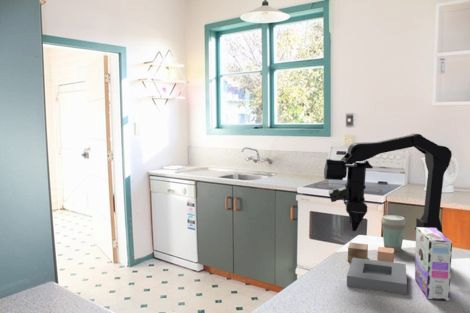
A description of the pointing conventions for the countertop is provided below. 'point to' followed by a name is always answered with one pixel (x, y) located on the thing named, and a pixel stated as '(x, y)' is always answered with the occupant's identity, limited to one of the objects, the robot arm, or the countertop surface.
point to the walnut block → (357, 251)
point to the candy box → (433, 263)
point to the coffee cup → (393, 231)
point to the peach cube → (385, 254)
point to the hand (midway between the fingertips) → (352, 227)
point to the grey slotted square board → (377, 275)
